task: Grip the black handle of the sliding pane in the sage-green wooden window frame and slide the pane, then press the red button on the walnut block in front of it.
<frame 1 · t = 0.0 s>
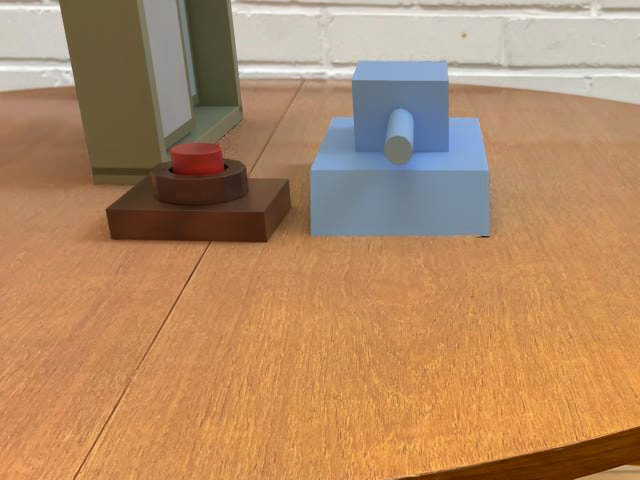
sash: (132, 35, 93), point 9 cm above the table, slide at 0.0 cm
button: (197, 160, 69), point 4 cm above the table, slide at 0.1 cm
button block: (206, 222, 71), on the table
toy tank: (404, 199, 78), on the table
window frame: (178, 147, 92), on the table
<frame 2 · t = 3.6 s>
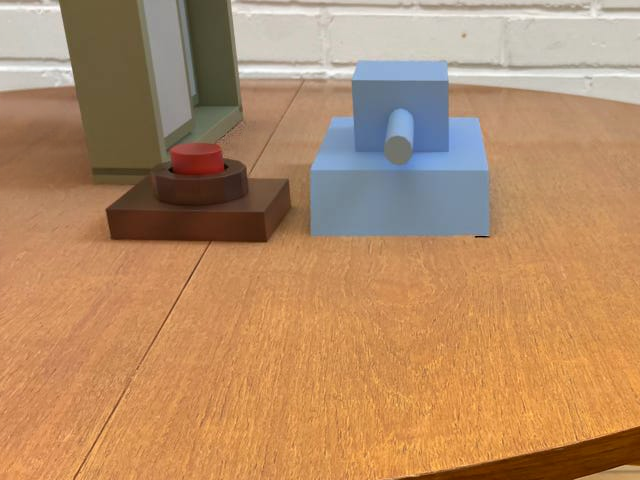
sash: (132, 35, 93), point 9 cm above the table, slide at 0.1 cm, touching gripper
everything else where it was.
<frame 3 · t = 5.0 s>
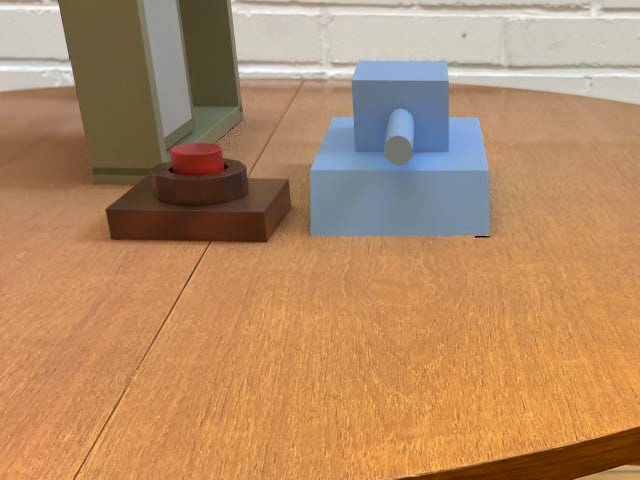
hand: (90, 57, 91), 7 cm above the table, tool pointing down, fingers closed on sash, 2 cm apart
sash: (113, 42, 88), point 9 cm above the table, slide at 5.3 cm, touching gripper
everything else where it was.
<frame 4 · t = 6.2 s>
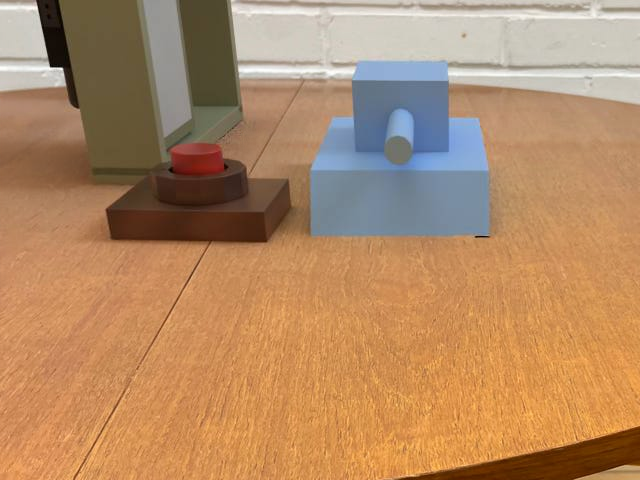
hand: (71, 64, 87), 7 cm above the table, tool pointing down, fingers closed on sash, 2 cm apart
sash: (95, 49, 84), point 9 cm above the table, slide at 9.8 cm, touching gripper
everything else where it was.
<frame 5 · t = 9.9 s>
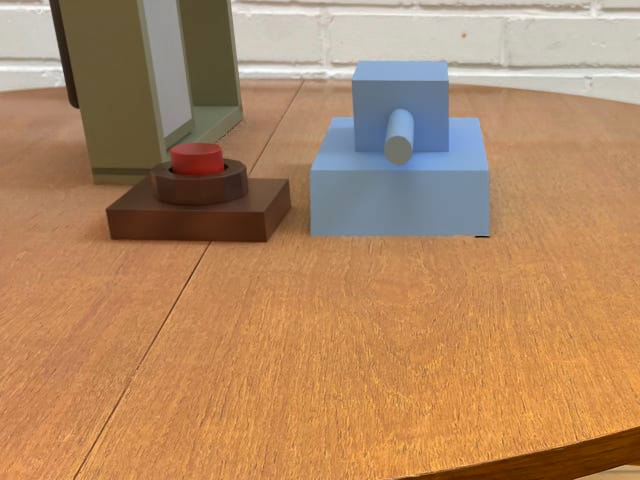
sash: (95, 49, 84), point 9 cm above the table, slide at 9.9 cm
everything else where it was.
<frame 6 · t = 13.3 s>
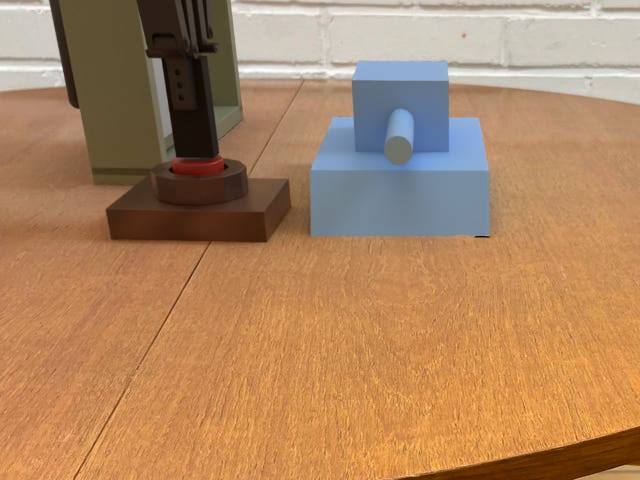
hand: (197, 155, 69), 5 cm above the table, tool pointing down, fingers closed
button: (198, 171, 69), point 4 cm above the table, slide at -0.6 cm, touching gripper
everything else where it was.
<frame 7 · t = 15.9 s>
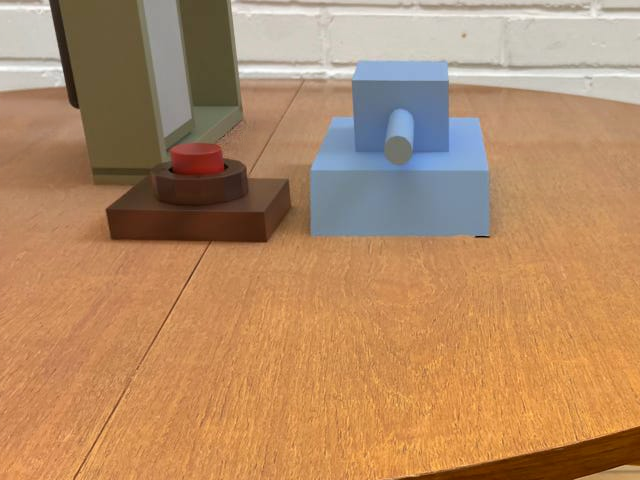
button: (197, 160, 69), point 4 cm above the table, slide at 0.1 cm
everything else where it was.
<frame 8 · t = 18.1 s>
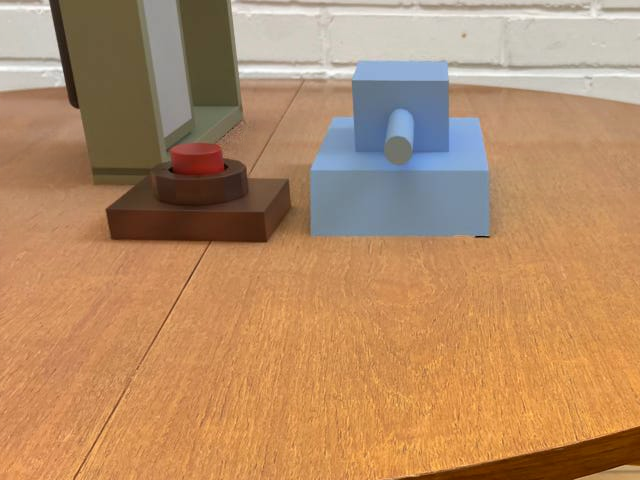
nothing on the table moved.
at the end: sash slide at 9.9 cm; button pushed in 1.0 cm at the most during the clip, back to where it started at the end; button slide at 0.1 cm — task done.
